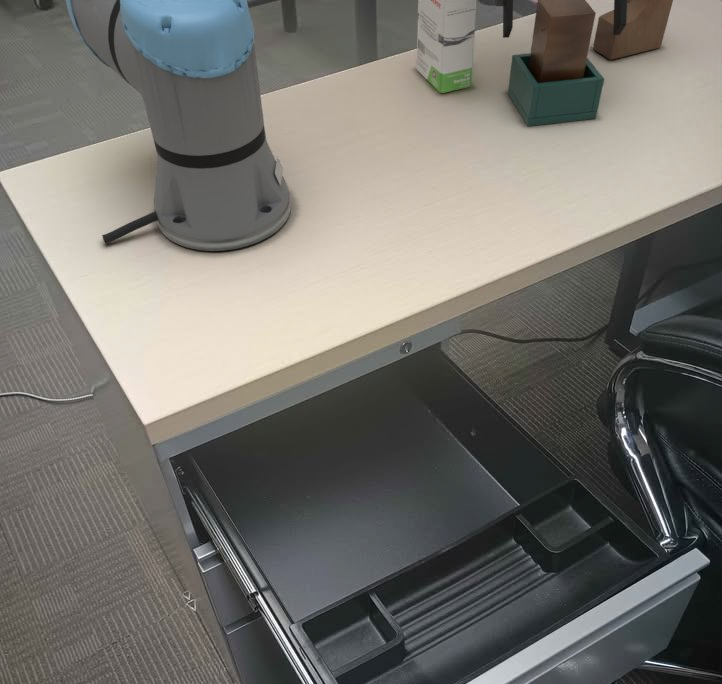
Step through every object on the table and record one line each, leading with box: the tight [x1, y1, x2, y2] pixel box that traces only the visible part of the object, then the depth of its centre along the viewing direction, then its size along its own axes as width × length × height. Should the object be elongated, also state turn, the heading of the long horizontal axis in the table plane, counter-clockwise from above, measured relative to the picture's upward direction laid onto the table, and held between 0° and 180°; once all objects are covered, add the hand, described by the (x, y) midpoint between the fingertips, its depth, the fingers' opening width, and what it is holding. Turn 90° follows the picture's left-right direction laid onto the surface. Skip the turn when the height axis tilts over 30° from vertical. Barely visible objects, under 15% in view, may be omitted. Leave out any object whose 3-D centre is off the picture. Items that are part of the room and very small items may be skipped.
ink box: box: [415, 0, 478, 94], centre depth 102 cm, size 9×5×12 cm, turn 21°
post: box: [528, 0, 596, 83], centre depth 96 cm, size 6×6×11 cm
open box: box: [507, 52, 605, 127], centre depth 99 cm, size 9×9×5 cm
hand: (563, 31), depth 93 cm, fingers open, 13 cm apart
